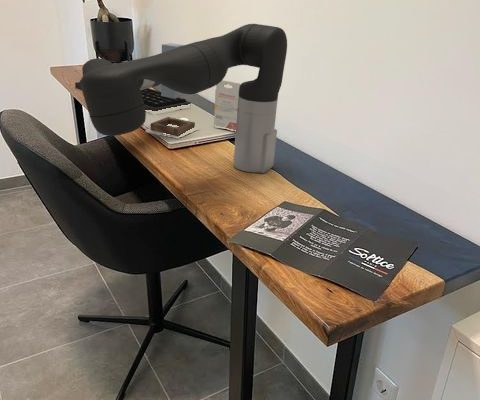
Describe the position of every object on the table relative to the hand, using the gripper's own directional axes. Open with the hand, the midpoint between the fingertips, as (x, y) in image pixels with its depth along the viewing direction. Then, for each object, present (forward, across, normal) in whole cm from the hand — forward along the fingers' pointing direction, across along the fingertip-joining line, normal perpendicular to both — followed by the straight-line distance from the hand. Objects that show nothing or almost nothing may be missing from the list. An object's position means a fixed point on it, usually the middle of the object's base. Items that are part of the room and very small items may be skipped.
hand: (177, 66), depth 138 cm
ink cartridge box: (+11, +12, -18) cm, 25 cm away
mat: (-2, 0, -18) cm, 18 cm away
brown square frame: (-2, 0, -18) cm, 18 cm away
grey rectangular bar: (-3, 0, -8) cm, 8 cm away
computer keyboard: (+23, -33, -19) cm, 44 cm away
